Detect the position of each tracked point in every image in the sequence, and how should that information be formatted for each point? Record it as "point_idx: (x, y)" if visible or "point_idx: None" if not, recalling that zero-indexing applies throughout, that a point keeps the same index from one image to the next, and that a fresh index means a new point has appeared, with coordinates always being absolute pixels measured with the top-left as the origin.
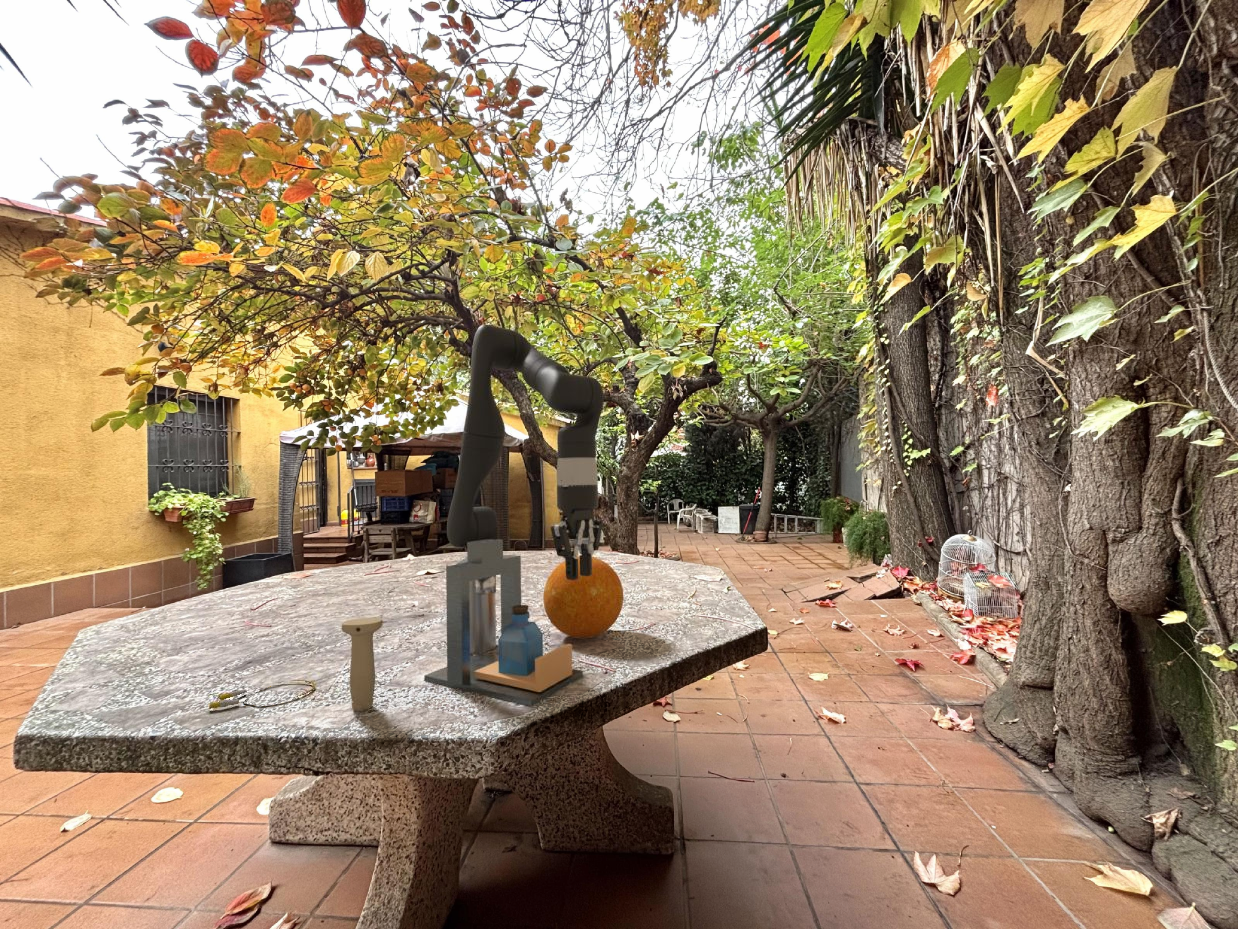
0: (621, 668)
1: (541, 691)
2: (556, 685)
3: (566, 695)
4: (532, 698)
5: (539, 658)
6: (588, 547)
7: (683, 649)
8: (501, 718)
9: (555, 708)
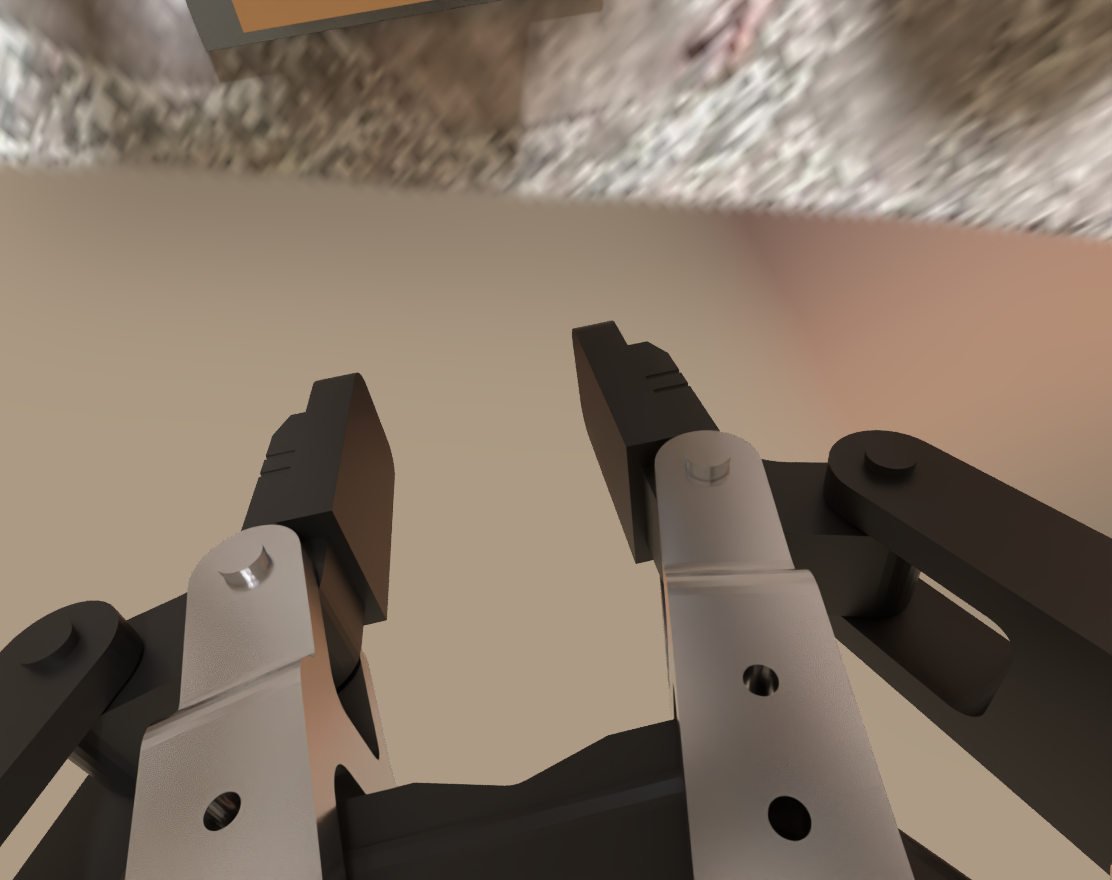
0: (769, 76)
1: None
2: (399, 10)
3: (401, 91)
4: (223, 34)
5: (255, 13)
6: (666, 654)
7: (1061, 158)
8: (38, 30)
9: (289, 154)
